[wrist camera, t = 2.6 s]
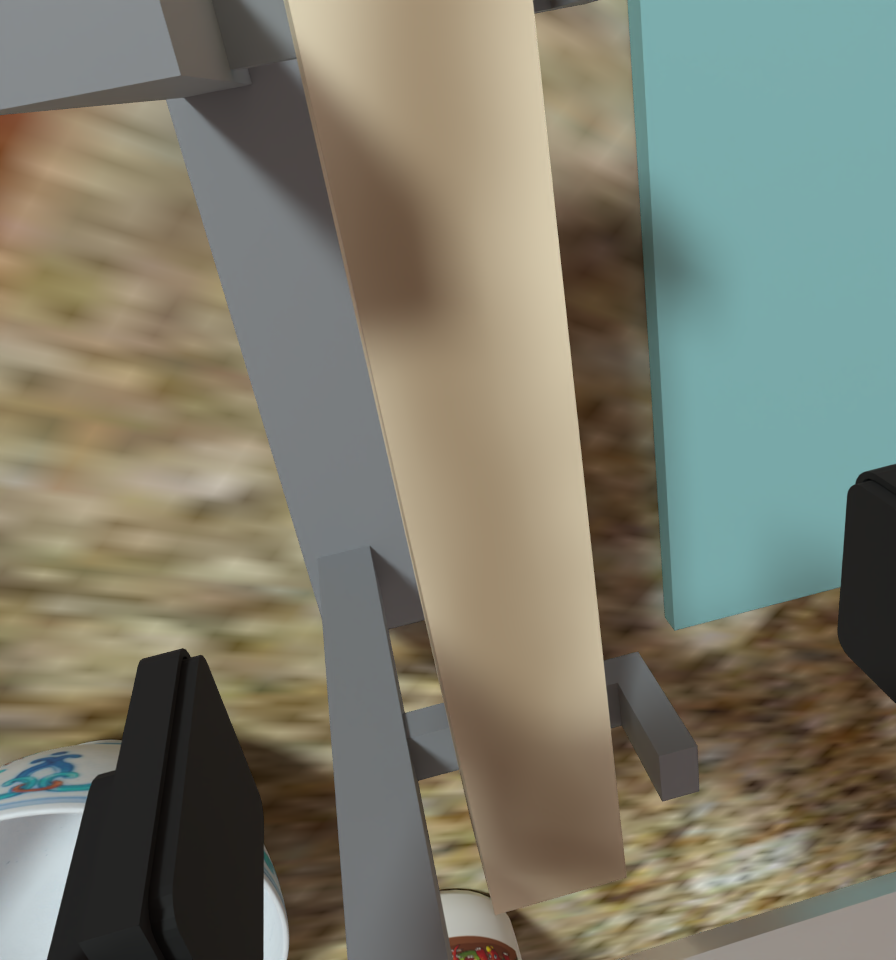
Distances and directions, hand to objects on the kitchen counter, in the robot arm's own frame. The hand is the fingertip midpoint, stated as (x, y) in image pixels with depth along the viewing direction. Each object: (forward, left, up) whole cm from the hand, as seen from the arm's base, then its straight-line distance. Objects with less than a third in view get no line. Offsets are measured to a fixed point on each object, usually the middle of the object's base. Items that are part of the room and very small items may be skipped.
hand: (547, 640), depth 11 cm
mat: (-16, +1, -19) cm, 25 cm away
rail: (0, 0, -8) cm, 8 cm away
